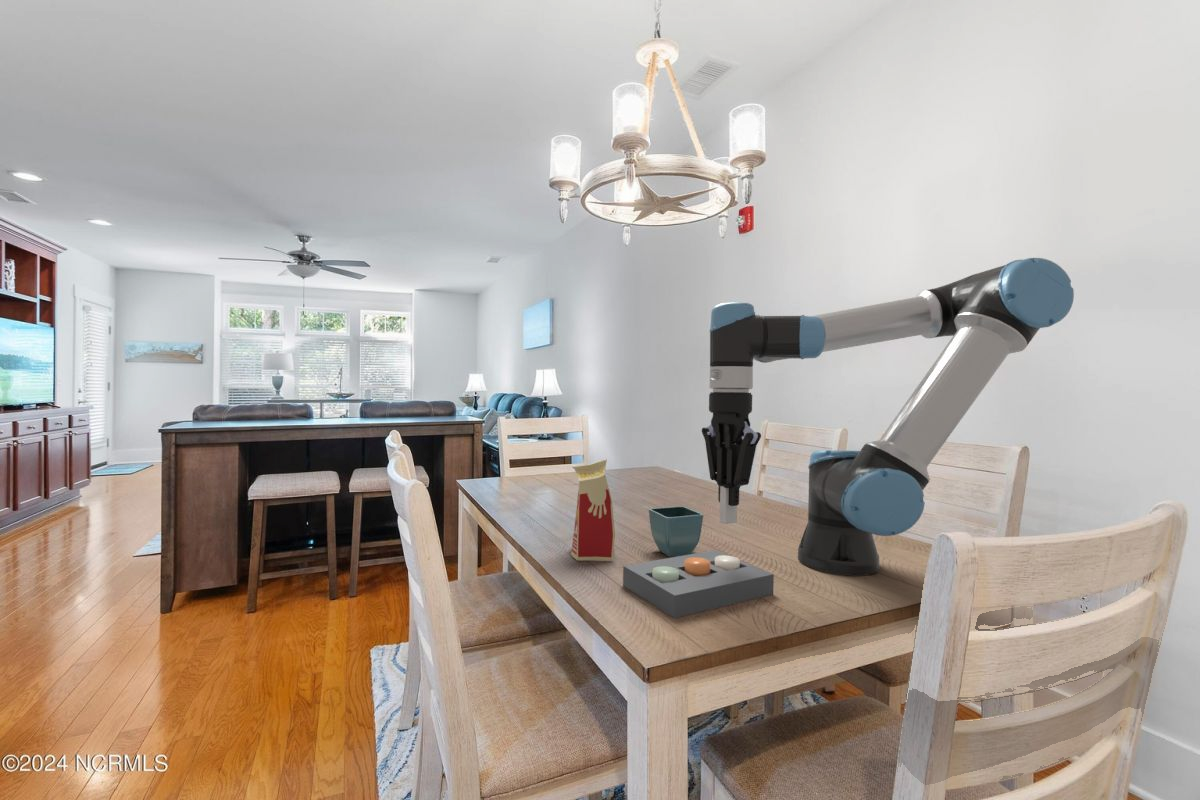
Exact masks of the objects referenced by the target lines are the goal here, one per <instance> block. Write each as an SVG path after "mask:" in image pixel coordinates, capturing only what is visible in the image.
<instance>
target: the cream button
mask: <svg viewBox="0 0 1200 800" xmlns="http://www.w3.org/2000/svg"><path fill="white" fill-rule="evenodd" d="M726 555H727V554H726ZM726 555H721V556H717V557H715V566H717V567H719V568H721V569H723V570H726V571H727V570H732V569H737V568H740V561H741V560H740V558H738V557H736V556H732V555H728V556H726Z"/></svg>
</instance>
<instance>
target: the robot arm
mask: <svg viewBox="0 0 1200 800" xmlns="http://www.w3.org/2000/svg"><path fill="white" fill-rule="evenodd" d="M1071 282H1072V281H1071V278H1070V277H1069V275H1068V273H1067V272H1066V271H1065V270H1064V269H1063V268H1062V266H1060V265H1059V264H1057V263H1056V262H1054V261H1052V260H1049V259H1047V258H1043V257H1029V258H1025V259H1016V260H1012V261H1009V263H1007V264H1004V265H1000V266H998V267H997V266H996V267H994V268H991V269H987V270H984V271H981V272H978V273H974V274H971V275H968V276H966V277H964V278H960V279H958V280H956V281H952V282H951V283H948V284H945V285H941V286H939V287H935V288H931V289H925V290H921V291H919V292H918V293H917V294H916V296H915V297H910V298H904V299H898V300H892V301H888V302H883V303H877V304H869V305H866V306H865V305H864V306H860V307H854V308H848V309H844V310H839V311H838V310H837V311H833V312H827V313H822V314H816V315H810V316H808V315H804V314H801V315H760V314H756V311H755V307H754V305H753V304H751V303H749V302H740V301H739V302H738V301H737V302H736V301H735V302H734V301H733V302H723V303H720V304H719V303H718V304H716V305H714V307H713V308H712V310H711V315H710V328H709V389H712V392H710V393H709V394H708V411H709V412H710V413H711V414H712V417H711V420H710V424H709V425H708V426H707V427H702V428H701V432H702V436H703V439H704V442H705V450H706V457H707V463H708V472H709V479H710V480H711V481H714V482H716V484H717V486H718V493H717V494H718V496H717V497H718V503H719V523H721V524H724V525H729V524H735V523H736V524H737V522H738V506H739V504H740V488H741V487H742V486H747V485H749V483H750V479H751V474H752V468H753V465H754V463H753V462H754V458H755V455H756V449H757V445H758V443H759V442H760V440H761V438H762V434H761V433H760V432H759V431H757V432H755V431H754V429H753V428H751V422H750V418H749V415H750V414H751V413H752V412H753V394H752V392H750V390H752V389H753V388H754V386H753V385H754V383H753V382H754V377H753V375H754V371H753V369H754V361H757V362H760V363H762V364H765V363H772V362H774V361H775V362H776V361H781V360H789V359H791V360H792V359H800V360H804V359H816V358H818V357H820V356H821V355H822V353H824V352H831V351H837V350H843V349H848V348H853V347H860V346H864V345H870V344H871V345H872V344H877V343H882V342H888V341H894V340H900V339H904V338H911V337H916V336H922V338H924V339H935V338H941V337H951V339H950V340H949V341H948V343H947V344H946V346H945V347H944V349H943V350H942V351H941V352H940V354H939V356H938V357H937V359H935V361H934V363H933V364H932V366H931V367H929V370H928V371H927V373H926V374H925V376H924V377H923V378H922V380H921V381H920V382H919V384H918V385H917V387H916V388H915V389H914V391H913V392H912V394H911V395H910V396H909V398H908V399H907V401H906V402H905V403H904V405H902V407H901V409H900V410H899V412H898V413H897V414H896V415H895V418H894V419H893V421H891V423H890V424H889V426H888V427H887V428H886V430H885V432H884V433H883V434H882V435H881V437H880V438H879V439H878V440H875V441H870V442H869V441H868V442H865V443H864V445H863V446H862V447H861V450H860V449H859V450H843V449H841V450H839V449H837V450H836V449H835V450H831V449H830V450H829V449H826V450H825V449H823V450H822V449H821V450H814V451H813V452H811V453H810V456H809V464H808V499H807V501H808V504H807V505H808V507H807V508H808V509H807V517H808V518H807V523H806V526H805V528H804V529H805V530H804V532H803V534H802V537H801V540H800V543H799V545H798V548H797V559H798V562H800V563H801V564H802V565H805V566H807V567H809V568H812V569H814V570H817V571H821V572H825V573H830V574H835V575H844V576H869V575H870V576H871V575H873V574H876V573H878V572H879V571H880V560H881V559H880V555H879V553H878V550H877V545H876V543H875V539H874V536H873V535H876V536H881V537H889V536H890V537H891V536H896V535H899V534H902V533H904V532H907V531H908V530H910V529H911V528H912V527H914V526H915V525H916V524H917V523H918V522H919V520H920V518H921V516H922V515H923V512H924V510H925V504H926V502H925V501H924V497H925V494H924V492H923V491H924V489H925V488H926V487H927V485H928V484H929V483H930V480H931V479H930V476H929V472H928V466H929V465H930V463H931V462H932V461H933V459H934V458H935V457H936V455H937V454H938V452H939V451H940V449H941V448H942V447H943V446H944V444H945V443H946V441H947V440H948V439H949V437H950V436H951V434H952V433H953V432H954V430H955V429H956V427H957V426H958V425H959V423H960V421H962V419H963V418H964V416H965V415H966V414H967V412H968V411H969V410H970V408H971V407H972V405H973V404H974V402H975V401H976V400H977V399H978V397H979V395H980V394H981V393H982V391H983V390H984V389H985V387H986V386H987V385H988V383H989V382H990V381H991V378H993V376H994V375H995V373H996V372H997V370H998V369H999V368H1000V366H1001V365H1002V363H1003V362H1004V361H1005V359H1006V358H1007V356H1009V355H1010V354H1015V353H1019V352H1020V353H1021V352H1022V351H1024V350H1025V349H1026V348H1027V347H1028V345H1029V344H1030V342H1031V341H1032V340H1033V339H1034V337H1035V336H1036V334H1037V333H1038V331H1040V329H1043V328H1044V329H1045V328H1050V327H1051V326H1054V325H1056V324H1058V323H1059V322H1061V321H1062V320H1064V318H1066V316H1067V315H1068V314H1069V313H1070V311H1071V309H1072V307H1073V303H1074V298H1075V297H1074V296H1075V293H1074V291H1075V289H1074V288H1073V287H1072V285H1071Z"/></svg>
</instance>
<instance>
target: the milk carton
mask: <svg viewBox="0 0 1200 800" xmlns="http://www.w3.org/2000/svg"><path fill="white" fill-rule="evenodd" d="M606 468H607V458H605V459H602V460H600V461H596V462H593V463H590V464H584V465H576V466H575V465H574V466H572V469H573V470H574V471H575V474H576V476H577V478H578V480H579V481H578V490H577V491H578V492H577V500H576V511H575V518H574V519H575V521H574V528H573V534H572V535H573V536H572V537H573V538H572V544H571V552H570V555H571V556H572V558H574V559H575V560H576V561H599V562H614V558H615V557H614V555H615V554H614V553H615V541H616V529H615V518H614V517H615V516H614V508H613V506H614V505H613V504H614V503H613V499H612V495H611V492H610V488H609V484H608V481H607V476H606Z"/></svg>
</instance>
